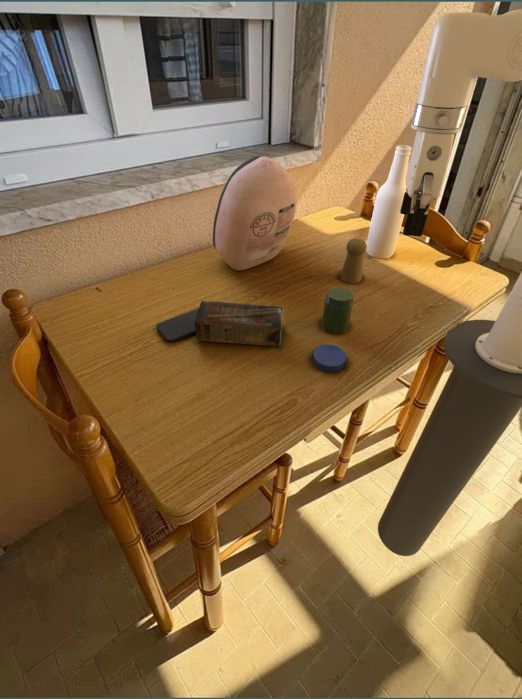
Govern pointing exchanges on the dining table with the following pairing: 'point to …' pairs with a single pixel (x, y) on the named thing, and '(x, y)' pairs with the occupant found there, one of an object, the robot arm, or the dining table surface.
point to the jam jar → (337, 310)
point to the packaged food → (254, 213)
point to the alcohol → (389, 208)
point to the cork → (353, 261)
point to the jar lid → (329, 358)
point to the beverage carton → (239, 323)
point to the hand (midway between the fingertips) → (410, 224)
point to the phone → (178, 326)
